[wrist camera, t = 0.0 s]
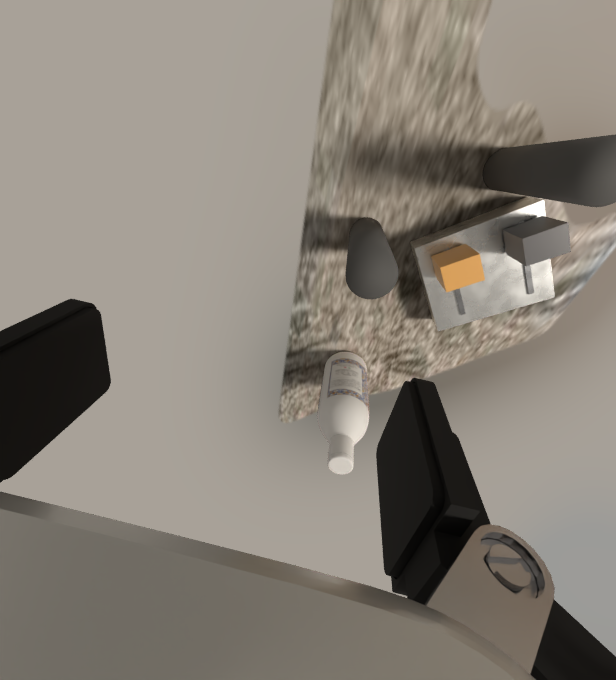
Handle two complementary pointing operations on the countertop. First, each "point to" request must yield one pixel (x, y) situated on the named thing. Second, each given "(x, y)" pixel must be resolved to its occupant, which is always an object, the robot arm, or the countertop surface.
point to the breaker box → (484, 267)
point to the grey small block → (537, 240)
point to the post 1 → (370, 261)
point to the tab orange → (458, 267)
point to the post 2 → (558, 171)
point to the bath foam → (343, 408)
